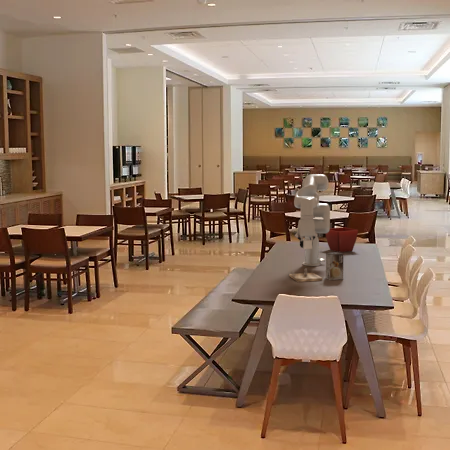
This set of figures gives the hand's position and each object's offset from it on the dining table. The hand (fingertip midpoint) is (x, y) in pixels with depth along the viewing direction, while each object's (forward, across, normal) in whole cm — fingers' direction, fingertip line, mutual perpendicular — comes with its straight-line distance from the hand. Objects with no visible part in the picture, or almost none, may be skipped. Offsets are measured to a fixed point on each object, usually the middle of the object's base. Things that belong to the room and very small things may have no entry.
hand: (306, 246), depth 382 cm
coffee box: (+20, -17, +5) cm, 27 cm away
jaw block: (+1, 0, 0) cm, 1 cm away
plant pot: (+19, -61, -87) cm, 108 cm away
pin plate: (+20, 0, 0) cm, 20 cm away
